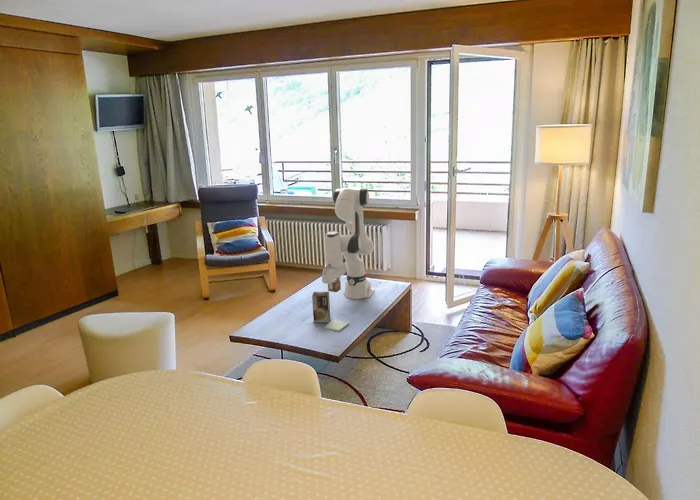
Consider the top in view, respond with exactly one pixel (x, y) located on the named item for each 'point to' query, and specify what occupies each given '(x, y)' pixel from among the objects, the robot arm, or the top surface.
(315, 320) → the coffee box
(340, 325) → the sage board
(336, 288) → the walnut cube
